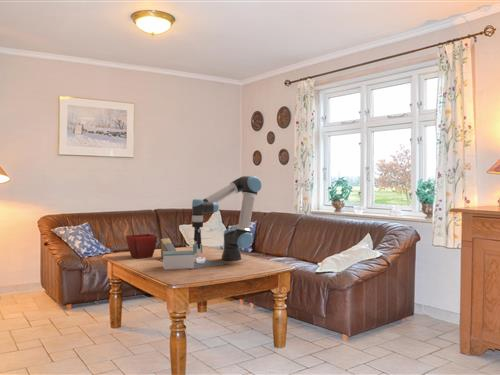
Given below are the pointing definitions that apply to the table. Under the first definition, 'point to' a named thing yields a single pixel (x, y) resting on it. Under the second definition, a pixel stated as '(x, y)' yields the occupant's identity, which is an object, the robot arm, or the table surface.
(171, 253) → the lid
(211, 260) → the table surface
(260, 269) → the table surface
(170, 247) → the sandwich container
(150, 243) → the plant pot
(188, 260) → the tub
